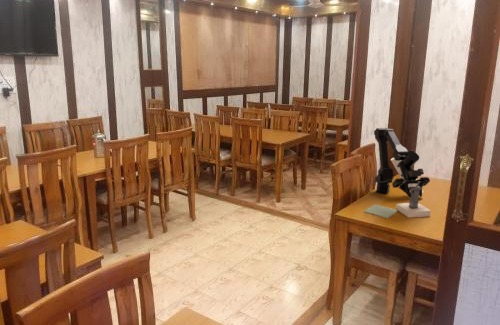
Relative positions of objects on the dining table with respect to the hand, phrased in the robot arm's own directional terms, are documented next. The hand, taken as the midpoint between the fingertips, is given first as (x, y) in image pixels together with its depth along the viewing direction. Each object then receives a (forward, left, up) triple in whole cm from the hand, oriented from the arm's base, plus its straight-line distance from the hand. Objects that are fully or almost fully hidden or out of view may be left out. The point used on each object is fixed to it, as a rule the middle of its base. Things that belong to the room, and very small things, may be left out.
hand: (416, 196), depth 201 cm
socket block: (-1, +1, -9) cm, 9 cm away
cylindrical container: (-7, +26, -7) cm, 28 cm away
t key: (-1, +1, -7) cm, 7 cm away
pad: (-14, -9, -9) cm, 19 cm away
